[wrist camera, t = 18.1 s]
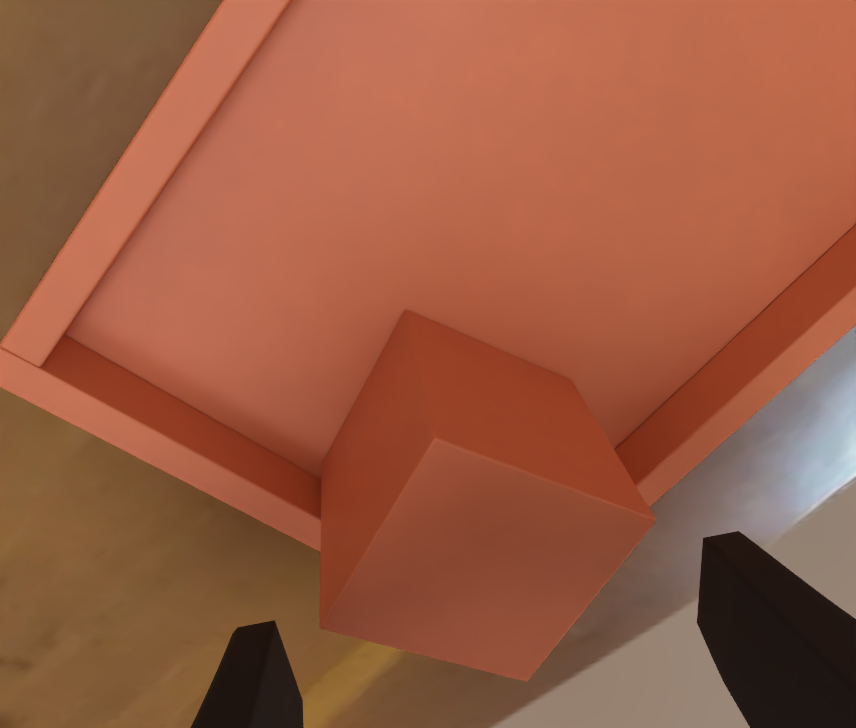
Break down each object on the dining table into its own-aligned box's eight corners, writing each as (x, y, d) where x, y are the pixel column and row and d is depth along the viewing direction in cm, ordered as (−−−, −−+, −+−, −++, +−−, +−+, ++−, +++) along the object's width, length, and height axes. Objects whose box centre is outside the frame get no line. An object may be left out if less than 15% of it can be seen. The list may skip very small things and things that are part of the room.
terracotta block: (480, 517, 19) (527, 683, 14) (320, 463, 17) (318, 629, 13) (572, 380, 17) (658, 521, 13) (405, 307, 15) (435, 438, 11)
